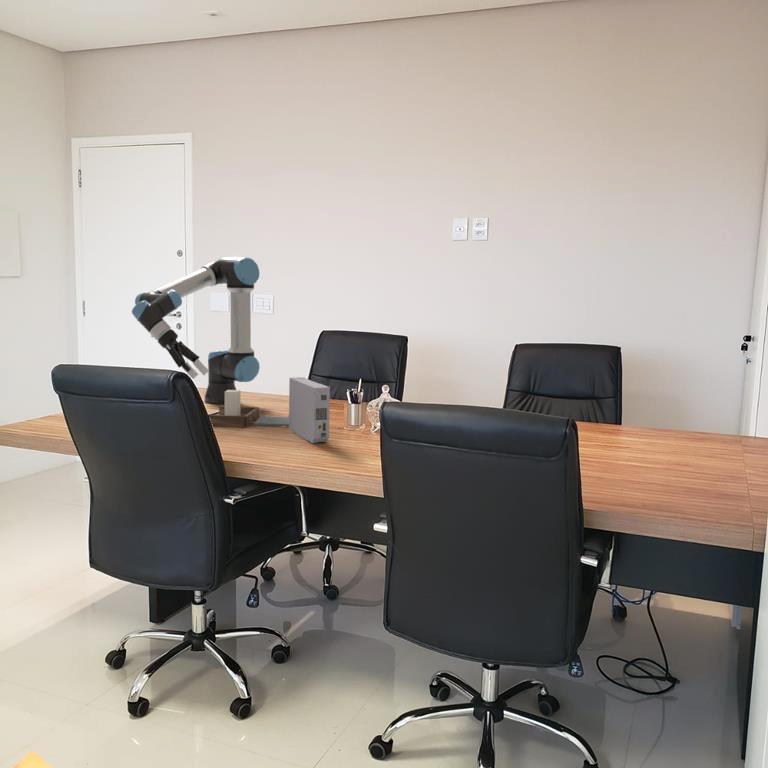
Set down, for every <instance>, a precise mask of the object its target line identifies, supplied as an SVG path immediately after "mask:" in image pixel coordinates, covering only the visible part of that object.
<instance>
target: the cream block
mask: <svg viewBox="0 0 768 768" xmlns="http://www.w3.org/2000/svg"><path fill="white" fill-rule="evenodd" d="M224 406H225V415H232V416H240V407H241V390H240V389H236V390H227V391H225V403H224Z"/></svg>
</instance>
